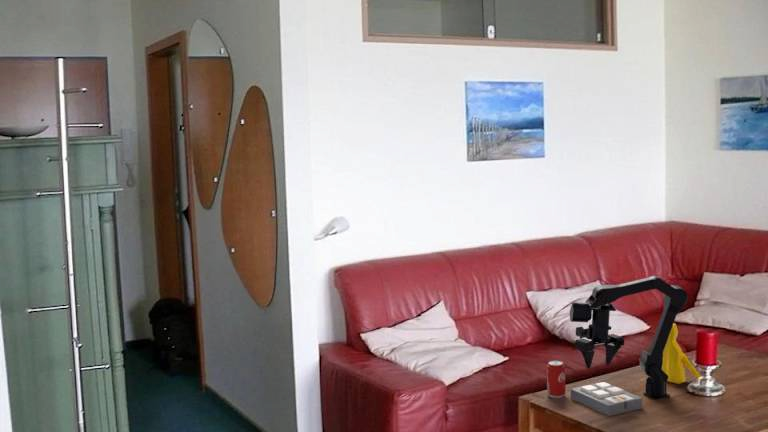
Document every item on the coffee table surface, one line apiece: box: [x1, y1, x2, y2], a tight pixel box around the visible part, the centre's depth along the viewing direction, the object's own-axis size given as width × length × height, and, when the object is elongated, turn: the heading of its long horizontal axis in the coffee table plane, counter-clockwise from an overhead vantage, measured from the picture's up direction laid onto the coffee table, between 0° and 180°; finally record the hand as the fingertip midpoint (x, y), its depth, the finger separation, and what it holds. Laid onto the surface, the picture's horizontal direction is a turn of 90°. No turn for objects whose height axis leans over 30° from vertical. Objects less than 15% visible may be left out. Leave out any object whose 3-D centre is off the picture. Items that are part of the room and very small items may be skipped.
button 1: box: [580, 384, 598, 394], centre depth 286 cm, size 4×4×2 cm
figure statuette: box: [662, 322, 701, 385], centre depth 301 cm, size 18×8×22 cm, turn 40°
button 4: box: [606, 386, 624, 396], centre depth 283 cm, size 4×4×2 cm
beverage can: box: [546, 360, 566, 399], centre depth 292 cm, size 6×6×12 cm
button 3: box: [594, 381, 613, 391], centre depth 289 cm, size 4×4×2 cm
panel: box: [570, 382, 643, 417], centre depth 283 cm, size 14×20×4 cm
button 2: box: [592, 390, 609, 399], centre depth 281 cm, size 4×4×2 cm
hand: (597, 366), depth 288 cm, fingers open, 9 cm apart
